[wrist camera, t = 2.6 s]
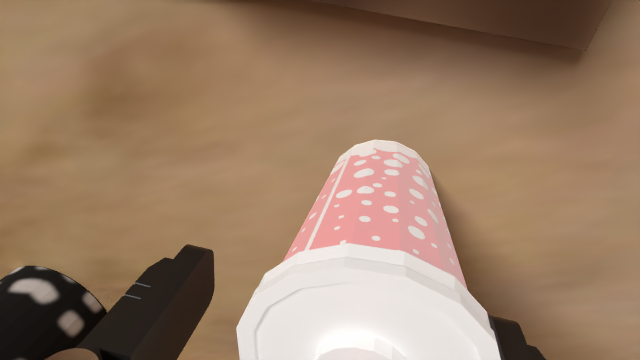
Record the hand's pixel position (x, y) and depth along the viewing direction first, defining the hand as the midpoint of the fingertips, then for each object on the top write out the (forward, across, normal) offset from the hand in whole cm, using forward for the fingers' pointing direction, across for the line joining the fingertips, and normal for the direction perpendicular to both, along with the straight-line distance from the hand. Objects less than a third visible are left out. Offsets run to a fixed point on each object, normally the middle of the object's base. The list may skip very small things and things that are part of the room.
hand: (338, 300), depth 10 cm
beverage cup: (+7, -1, 0) cm, 7 cm away
